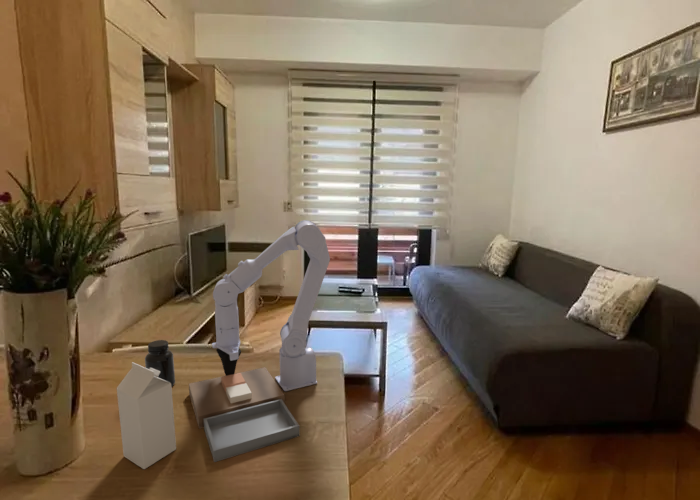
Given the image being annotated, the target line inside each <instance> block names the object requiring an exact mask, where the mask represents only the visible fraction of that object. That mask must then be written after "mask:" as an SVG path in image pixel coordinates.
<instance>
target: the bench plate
mask: <svg viewBox="0 0 700 500" xmlns="http://www.w3.org/2000/svg"><path fill="white" fill-rule="evenodd" d="M237 373H238V372H237ZM237 373H235V374H237ZM240 373H241V374H242V376H243V378H244V380H245V383H247V385H248V387H249V389H250V391H251V392H252V398H251V399H247V400H243V401H239V402H235V403H230V401H229V399H228V396H227V394H226V391H225V390H224V387H223V385H222V383H221V377H223V376H224V375H223V376H217V377H214V378H209V379H205V380H199V381H194V382H190V383H188V391H189V393H188V394H189V398H190V401H191V405H192V408H193V412H194V416H195V420H196V423H197V426H198V429H204V419H205V418H209V417H212V416H216V415H220V414H224V413H228V412H232V411H236V410H240V409H244V408H248V407H252V406H255V405H259V404H263V403H267V402H271V401H275V400H279V399H282V401H283V402H284V404H285V403H286V402H285V401H286V400H285V394H284V392H283V391H282V390H283V389H281V387H280V385H279V384H278V382H277V381H276V379H274V378H273V376H272V375H271V373H270V371H269V370H268V369H267V367H265V366H264V367H261V368H255V369H251V370H246V371H240ZM285 405H286V404H285Z"/></svg>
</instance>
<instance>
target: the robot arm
mask: <svg viewBox="0 0 700 500" xmlns="http://www.w3.org/2000/svg"><path fill="white" fill-rule="evenodd" d="M326 240H327V239H326V236H325V235H324V233H323V232H322V230H320V228H319V227H318V226H317V225H316V224H315V223H314V222H313V221H311V220H308V219H304V220H303V219H302V220H301V221H299V222H298V223H297V224H295V226H292V227H291V228H289V229H287V230H286V231H285V232H284V233H283V234H281V235H280V236H279V237H277V239H275V240H274V241H273V242H272V243H271V244H270V245H268V247H266V248H265V249H264V250H263V251H262V252H261V253H260V254H259V255H258V256H257V257H255V258H254V259H250V258H249V259H248V258H247V259H245V260H244V261H243V260H240V261H239V262H238V264H237V267H236V268H234V269H233V270H232V271H231V272H230V273H229V274H227V273H225V274H224V275H223V278H222V279H220V280H218V281H217V282H216V284H215V287H214V289H213V292H212V299H213V300H214V306H215V309H214V321H215V335H216V336H215V339H216V342H212V343H211V347H212V349H216V350H215V351H216V353H217V355H218V357H219V358H220V360H221V364H222V368H223V371H224V372H223V373H224V376H228V375H232V374H236V373H235V372H236V367H237V363H238V361H239V359H240V356H241V354H242V350H241V348H240V346H241V339H240V322H239V307H238V297H239V294H241V293H244V292H245V291H246V290H248V288H250V287H251V286H252V285H254V283H256V282H257V281H258V280H260V278H262V276H263V270H264V269H265V268H266V267H267V266H268V265H270V264H271V263H272V262H274V261H275V260H277V259H278V258H279V257H280V256H282V255H283V254H284V253H286V252H287V251H299V250H300V249H299V246H300V247H301V248H302V249H303V250H304V252H306V253H307V256H308V257H309V263H308V265H307V268H306V271H305V274H304V277H303V280H302V283H301V285H300V288H299V291H298V295H297V297H296V300H295V303H294V306H293V309H292V310H291V311H292V312H291V313H290V315H289V316H288V319H287V321H286V322H285V324H284V325H283V326H282V327H281V329H280V332H279V334H280V338H281V339H280V340H281V347H280V348H279V350H278V351H279V375H277V376H274V378H275V379H274V380H275V381H276V383H277V384H278V386H279V387H280V389H281V388H282V389H281V390H283V391H284V392H288V391H292V390H296V389H300V388H304V387H308V386H312V385H317V384H318V381H317V357H316V354H315V351H314V349H313V347H307V339H306V338H307V335H308V331H309V330H308V329H309V321H310V319H311V316H312V313H313V310H314V306H315V304H316V301H317V299H318V296H319V293H320V290H321V287H322V283H324V282H323V281H324V279H325V276H326V272H327V270H328V267H329V265H330V261H331V257H330V252H329V248H328V245H327V241H326Z"/></svg>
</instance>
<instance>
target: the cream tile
mask: <svg viewBox="0 0 700 500" xmlns="http://www.w3.org/2000/svg"><path fill="white" fill-rule="evenodd" d="M226 394H227V396H228V399H229V401H230V403H235V402H239V401H243V400H247V399H251V398H252V392H251V391H250V389H249V387H248V385H247V383H245V384H240V385H236V386H232V387H227V388H226Z"/></svg>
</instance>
